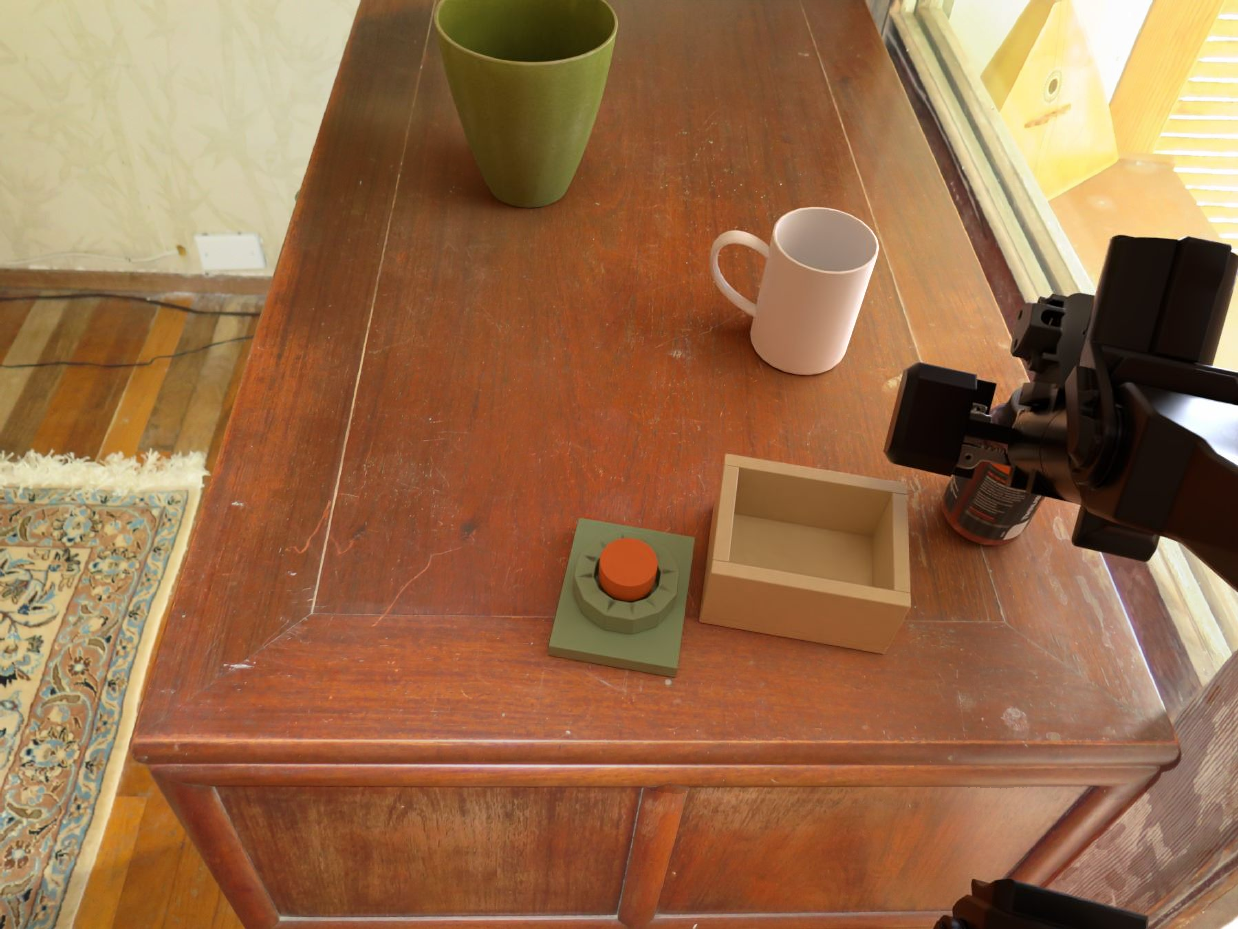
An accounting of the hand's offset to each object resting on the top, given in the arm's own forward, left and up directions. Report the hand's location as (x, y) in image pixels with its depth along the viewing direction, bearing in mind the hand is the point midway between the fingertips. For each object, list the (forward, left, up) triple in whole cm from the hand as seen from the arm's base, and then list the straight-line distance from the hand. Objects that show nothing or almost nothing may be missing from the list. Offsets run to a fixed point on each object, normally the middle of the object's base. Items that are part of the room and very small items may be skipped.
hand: (1015, 441), depth 66 cm
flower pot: (+30, +40, -7) cm, 50 cm away
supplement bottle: (-1, 0, -7) cm, 7 cm away
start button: (-13, +24, -4) cm, 28 cm away
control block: (-13, +24, -7) cm, 28 cm away
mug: (+14, +16, -7) cm, 22 cm away
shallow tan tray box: (-9, +13, -7) cm, 17 cm away
